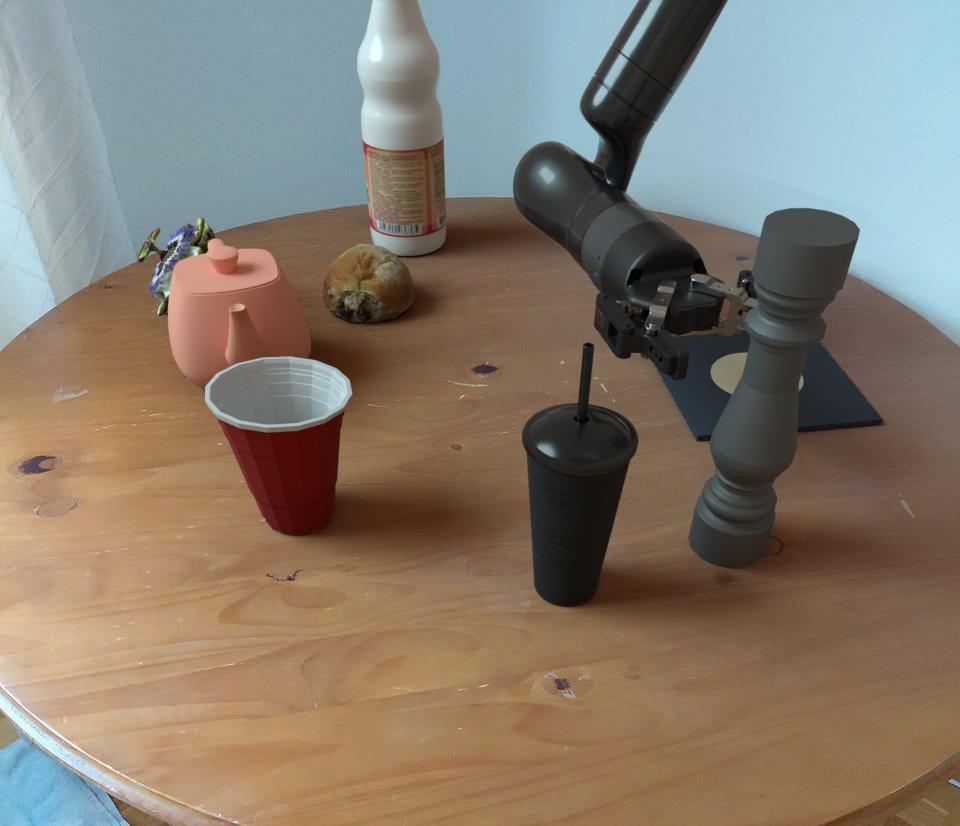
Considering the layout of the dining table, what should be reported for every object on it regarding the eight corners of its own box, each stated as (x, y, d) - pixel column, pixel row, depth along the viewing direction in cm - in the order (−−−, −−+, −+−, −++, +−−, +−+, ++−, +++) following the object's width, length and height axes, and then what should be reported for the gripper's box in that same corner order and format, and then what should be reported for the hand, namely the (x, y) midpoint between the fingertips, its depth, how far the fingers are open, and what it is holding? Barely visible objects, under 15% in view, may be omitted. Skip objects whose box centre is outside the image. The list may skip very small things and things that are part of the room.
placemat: (805, 331, 95) (807, 325, 95) (881, 424, 83) (883, 418, 83) (643, 343, 94) (643, 337, 93) (696, 441, 81) (697, 434, 81)
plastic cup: (393, 512, 74) (381, 384, 66) (289, 574, 69) (261, 444, 60) (313, 458, 80) (292, 333, 71) (210, 512, 74) (174, 385, 66)
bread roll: (422, 339, 101) (442, 266, 98) (357, 332, 94) (375, 253, 90) (365, 310, 106) (381, 240, 103) (298, 301, 98) (313, 225, 95)
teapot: (192, 441, 82) (157, 315, 73) (171, 338, 94) (139, 221, 86) (335, 415, 84) (317, 291, 76) (296, 318, 97) (277, 203, 88)
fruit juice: (393, 264, 107) (372, -22, 86) (358, 236, 112) (330, -39, 92) (460, 246, 110) (456, -33, 89) (423, 220, 115) (410, -49, 95)
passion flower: (183, 357, 102) (138, 251, 99) (272, 326, 103) (230, 220, 100) (165, 347, 91) (114, 227, 88) (265, 312, 92) (218, 192, 89)
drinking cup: (543, 632, 65) (562, 389, 50) (499, 568, 70) (505, 329, 55) (634, 602, 67) (677, 361, 52) (585, 542, 72) (612, 305, 57)
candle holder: (767, 572, 69) (870, 252, 51) (687, 562, 70) (760, 244, 52) (764, 522, 74) (858, 209, 55) (688, 514, 74) (757, 202, 56)
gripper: (564, 231, 71) (654, 325, 60) (723, 208, 74) (836, 294, 63) (558, 320, 76) (640, 421, 66) (707, 295, 79) (808, 388, 69)
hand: (736, 359), depth 64 cm, fingers open, 8 cm apart
